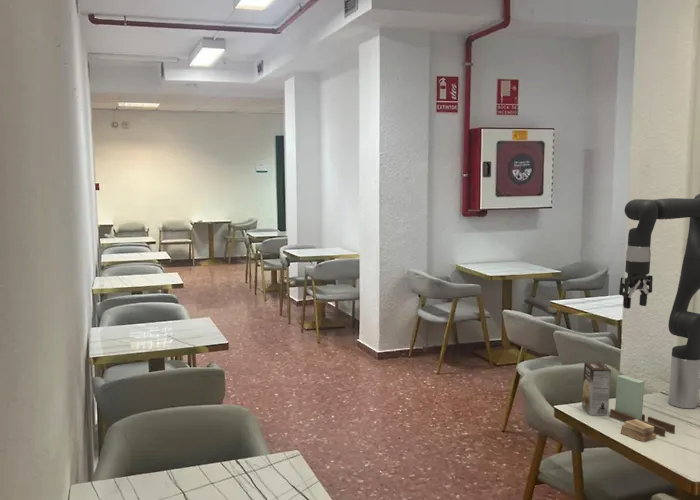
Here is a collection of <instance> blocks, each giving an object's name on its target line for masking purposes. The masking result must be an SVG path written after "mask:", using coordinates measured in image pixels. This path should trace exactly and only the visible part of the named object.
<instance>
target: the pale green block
mask: <svg viewBox="0 0 700 500" xmlns="http://www.w3.org/2000/svg"><path fill="white" fill-rule="evenodd" d="M644 393H645V381H644V380H642V379H638V378H634V377H631V376H629V375H625V374H621V375H617V376H616V389H615V403H614V404H615V405H614V406H615V409H614V410H616V411H619V412H621V413H624V414H627V415H630V416H632V417H635V418H636V419H637V420H639V419H641V420H642V414H643V409H644V408H643V406H644Z"/></svg>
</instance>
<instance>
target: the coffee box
mask: <svg viewBox="0 0 700 500" xmlns="http://www.w3.org/2000/svg"><path fill="white" fill-rule="evenodd" d="M611 374H612V370H611V369H610V368H609V367H608V366H607V365H606V364H605V363H604V362H603V361H585V362H584V364H583V379H582V380H583V381H582V397H581V398H582V399H581V407H582V408H583V409H584V410H585V411H586V413H587V414H588V415H589V416H595V417H596V416H597V417H599V416H605V417H607V416H609V403H610V401H609V400H610V388H611Z"/></svg>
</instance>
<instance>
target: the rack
mask: <svg viewBox="0 0 700 500" xmlns="http://www.w3.org/2000/svg"><path fill="white" fill-rule="evenodd" d="M609 417H610V418H613V419H615V420H618V421H621V422H623V423H625V421H629V420H634V419H636V418H635V417H632V416H630V415H627V414H624V413H621V412H619V411H616V410H615V409H613V408H610V409H609ZM639 421H642V422H644V423H647V424H649V425H651V426H654V432H653V433H654V434H656V436H659V437H662V438H664V437H666V432H667V433H670V434H672V435H673V434H675V432H676V425H674V424H671V423H670V422H666V421H663V420H661V419H658V418H655V417H652V416H647V421H646V414H644V413H642V420H641V419H639Z"/></svg>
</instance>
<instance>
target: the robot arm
mask: <svg viewBox="0 0 700 500" xmlns="http://www.w3.org/2000/svg"><path fill="white" fill-rule="evenodd" d="M624 214H625V216H626V217H627V218H628V219H629V220H632V221H636V222H637V221H638V223H637V227H632V228H629V230H628V232H627V233H628V235H627V249H626V254H625V268H624V270H625V273H626V274H627V277H620V279H619V280H620V281H619V291H618V295H619V296H622V297H623V305H622V306H623V308H624V309H626V310H627V309H631V304H632V298H631V297H632V295H633V294H634V293H635V292H636V291H638V292H639V293H640V294H639V303H638V304H639V306H640V307H647V302H648V296H649V294H650V293H651V294H652V293H653V275H650V272H651V271H650V268H651V267H650V266H651V257H652V255H651V254H652V253H651V252H652V251H651V245H652V244H651V243H652V233H653V230H654V228H655V226H656V223H657V220H674V219H685V218H689V224H688V225H689V226H688V232H687V233H688V234H687V240H686V244H685V250H684V255H683V259H682V264H681V270H680V277H679V280H678V281H679V282H678V287H677V291H676V295H675V298H674V301H673V305H672V308H671V311H670V315H669V318H668V331H669V333H670V334H671V335H672V336H677V337H681V338H685V339H687V340H686V341H687V342H686V344H682V345H676V346H673V347H672V349H671V356H670V357H671V358H670V372H669V373H670V374H669V386H668V398H667V399H668V400H667V402H668V404H669V405H671V406H673V407H677V408H680V409H681V408H682V409H696V408H697V407H698V405H699V398H700V397H699V396H700V313H697V312H692V311H688V308H689V306H690V304H691V303H690V302H691V300H692V298H693V297H694V296H695V294H696V293H697V292H698V291H699V290H700V193H699V194H697V195H695V197H694V198H680V197H679V198H678V197H677V198H676V197H673V198H671V197H670V198H669V197H668V198H658V199H642V198H641V199H638V198H637V199H631V200H629V201H628V202H627V203H626V204H625V207H624Z"/></svg>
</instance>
